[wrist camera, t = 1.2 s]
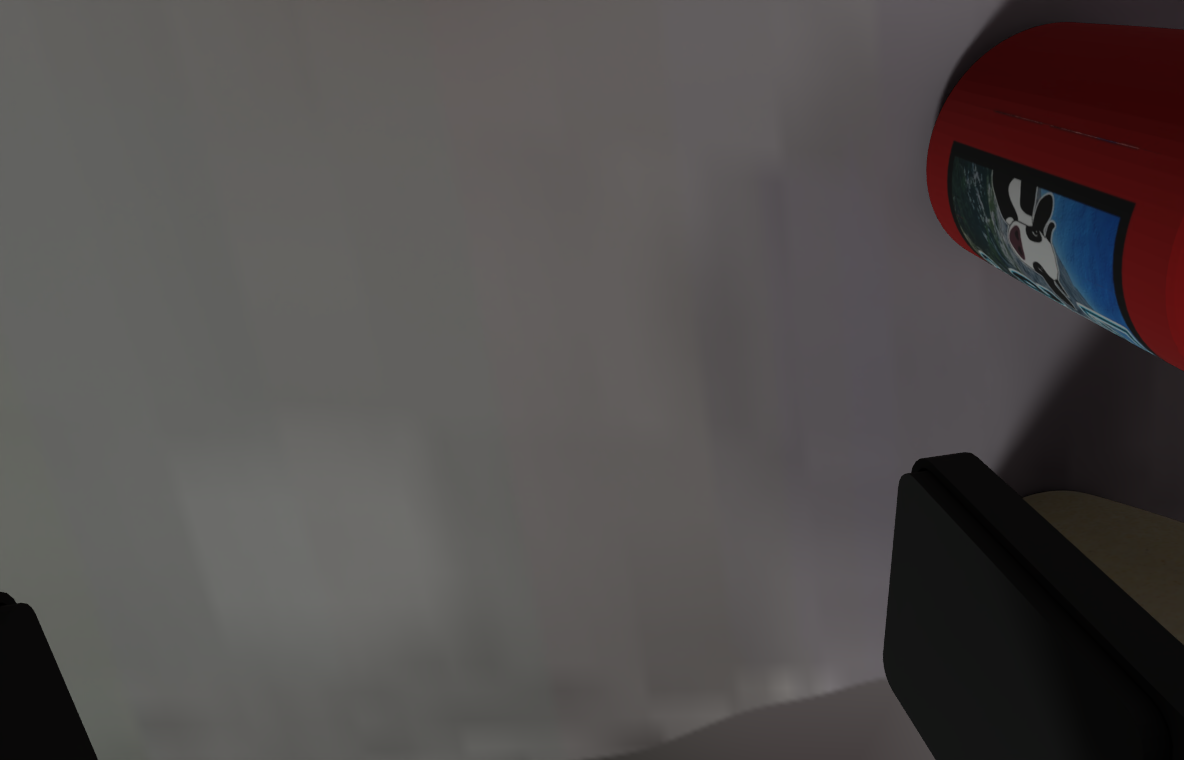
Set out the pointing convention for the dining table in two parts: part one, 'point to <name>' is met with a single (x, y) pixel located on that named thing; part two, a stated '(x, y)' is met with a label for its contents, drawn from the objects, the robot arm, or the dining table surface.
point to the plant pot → (1125, 548)
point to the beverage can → (1074, 172)
